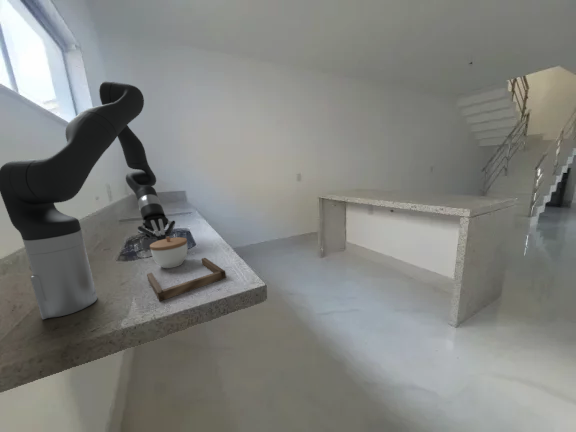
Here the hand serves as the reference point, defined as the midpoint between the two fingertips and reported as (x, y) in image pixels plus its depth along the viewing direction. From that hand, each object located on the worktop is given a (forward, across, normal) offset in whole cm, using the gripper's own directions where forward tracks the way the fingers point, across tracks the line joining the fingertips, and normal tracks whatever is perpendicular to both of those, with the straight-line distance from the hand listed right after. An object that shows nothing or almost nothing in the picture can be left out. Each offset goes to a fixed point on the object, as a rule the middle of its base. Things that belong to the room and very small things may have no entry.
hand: (163, 245), depth 84 cm
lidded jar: (+10, 0, -4) cm, 11 cm away
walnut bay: (+20, 0, -14) cm, 25 cm away
